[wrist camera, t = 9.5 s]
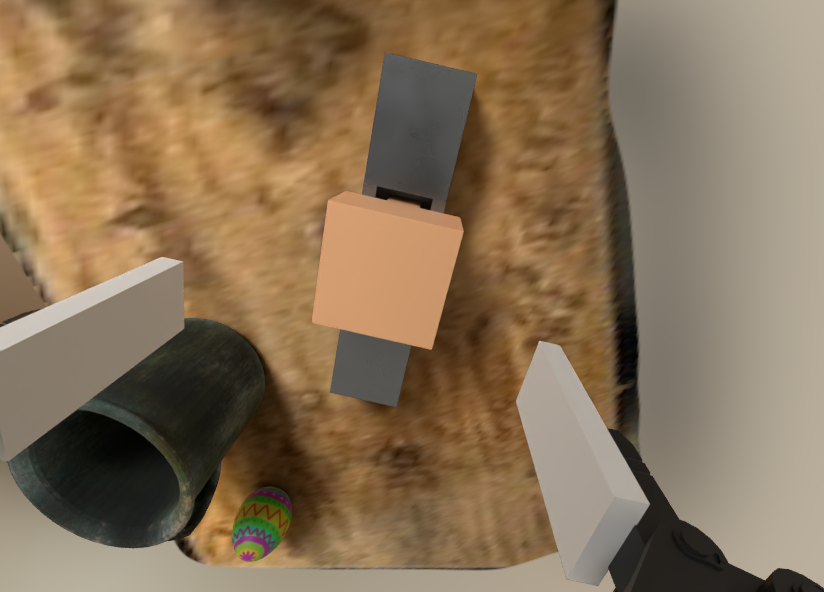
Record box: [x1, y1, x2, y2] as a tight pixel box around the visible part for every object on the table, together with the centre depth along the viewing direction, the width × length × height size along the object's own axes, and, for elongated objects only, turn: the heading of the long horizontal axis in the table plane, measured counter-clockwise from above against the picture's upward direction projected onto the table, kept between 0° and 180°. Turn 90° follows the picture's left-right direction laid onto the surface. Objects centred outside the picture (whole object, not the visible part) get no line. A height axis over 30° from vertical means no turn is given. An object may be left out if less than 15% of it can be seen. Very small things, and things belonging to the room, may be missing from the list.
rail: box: [330, 52, 477, 407], centre depth 27 cm, size 22×5×4 cm, turn 168°
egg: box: [232, 486, 292, 562], centre depth 36 cm, size 5×5×6 cm
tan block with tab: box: [312, 191, 464, 350], centre depth 24 cm, size 7×7×7 cm
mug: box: [7, 318, 265, 548], centre depth 29 cm, size 11×15×12 cm
